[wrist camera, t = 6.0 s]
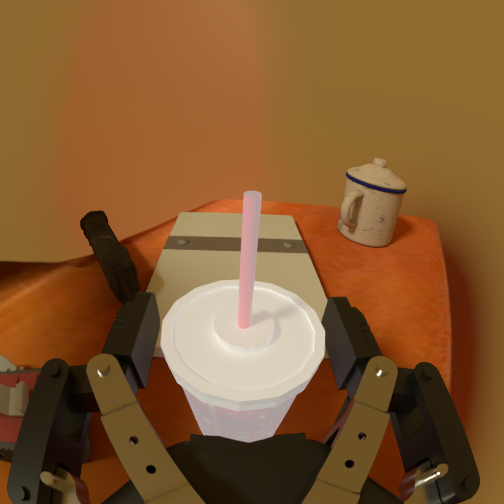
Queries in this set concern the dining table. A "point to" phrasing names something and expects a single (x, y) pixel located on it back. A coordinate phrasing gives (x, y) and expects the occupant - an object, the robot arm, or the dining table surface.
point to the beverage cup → (242, 346)
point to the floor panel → (232, 259)
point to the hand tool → (111, 256)
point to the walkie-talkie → (17, 405)
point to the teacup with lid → (371, 204)
